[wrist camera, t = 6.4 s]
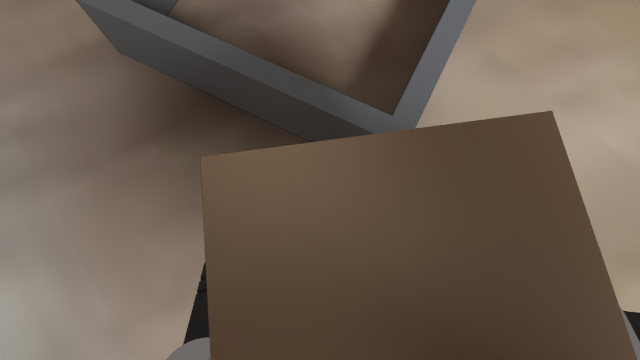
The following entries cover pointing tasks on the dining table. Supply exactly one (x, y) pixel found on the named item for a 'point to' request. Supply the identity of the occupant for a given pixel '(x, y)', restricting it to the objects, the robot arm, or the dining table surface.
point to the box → (268, 71)
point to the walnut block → (407, 249)
